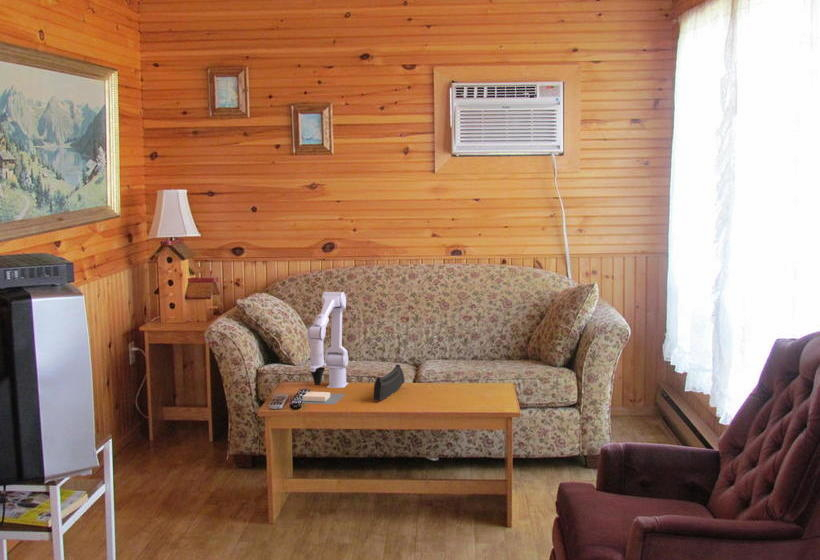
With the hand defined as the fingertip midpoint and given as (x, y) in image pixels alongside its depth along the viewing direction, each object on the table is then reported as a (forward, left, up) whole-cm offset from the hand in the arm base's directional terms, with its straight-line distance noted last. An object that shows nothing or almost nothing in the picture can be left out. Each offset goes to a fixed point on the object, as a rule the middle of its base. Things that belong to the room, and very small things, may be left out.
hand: (317, 384), depth 398 cm
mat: (0, 0, -6) cm, 6 cm away
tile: (-2, 0, -5) cm, 5 cm away
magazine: (-13, +29, -7) cm, 32 cm away
